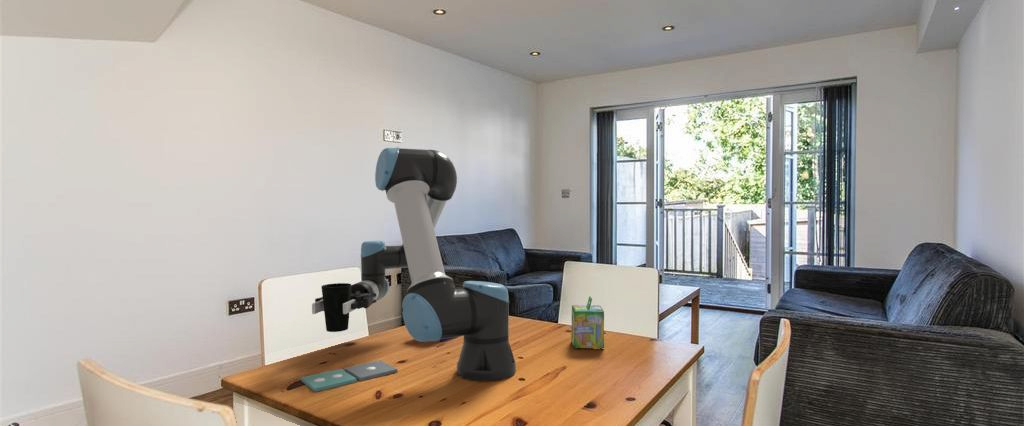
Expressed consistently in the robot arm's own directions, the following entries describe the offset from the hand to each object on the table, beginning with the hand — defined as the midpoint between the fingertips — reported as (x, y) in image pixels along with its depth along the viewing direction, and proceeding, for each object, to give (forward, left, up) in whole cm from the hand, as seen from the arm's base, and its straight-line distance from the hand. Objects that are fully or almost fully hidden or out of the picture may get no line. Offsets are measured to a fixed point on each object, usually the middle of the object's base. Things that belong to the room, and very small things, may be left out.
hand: (328, 308), depth 131 cm
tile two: (-8, +3, -16) cm, 18 cm away
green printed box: (-29, -68, -17) cm, 76 cm away
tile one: (-8, -8, -16) cm, 20 cm away
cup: (+3, -3, -7) cm, 8 cm away
